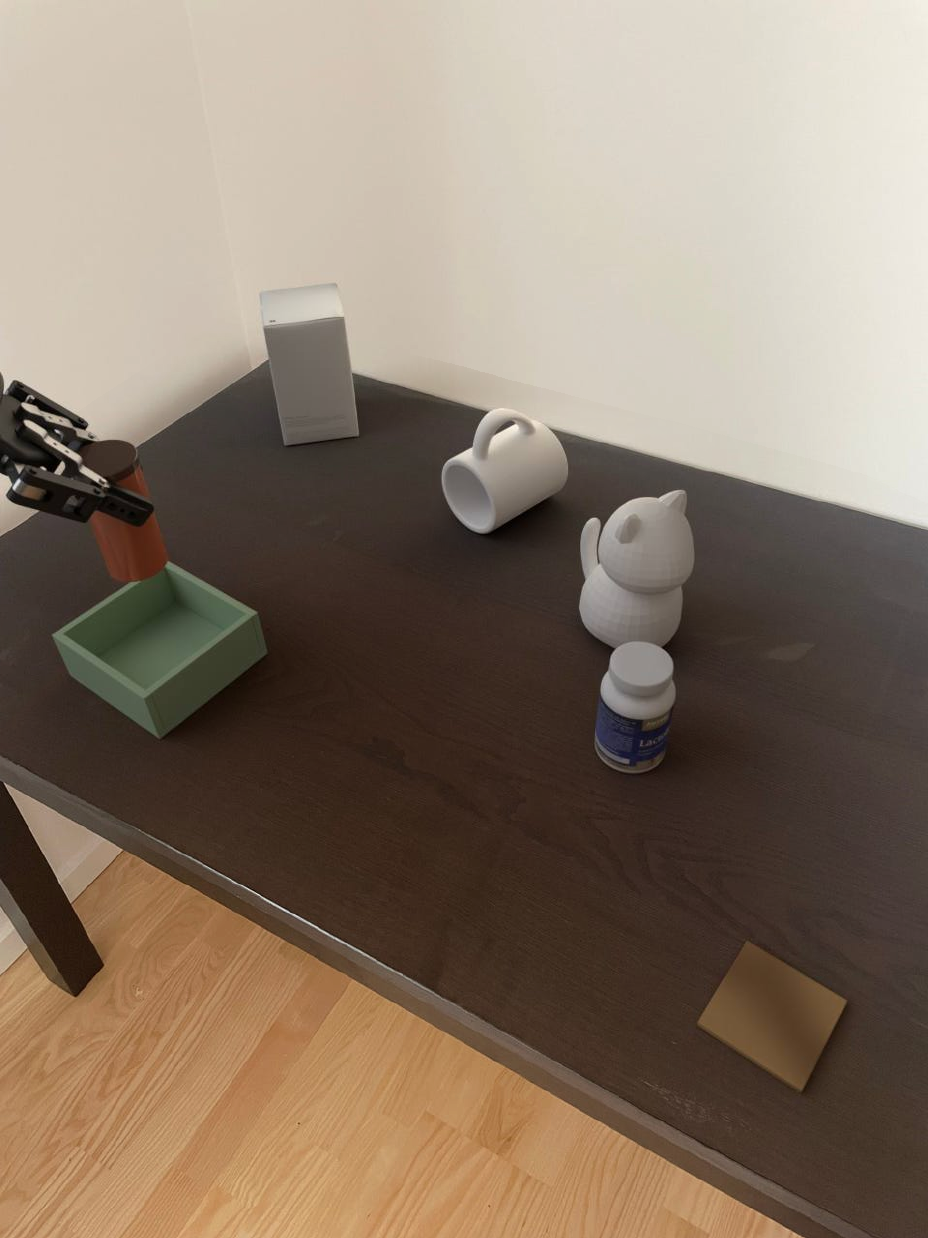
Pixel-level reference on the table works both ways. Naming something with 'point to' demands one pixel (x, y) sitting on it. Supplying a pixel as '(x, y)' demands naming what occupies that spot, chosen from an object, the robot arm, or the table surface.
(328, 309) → the rectangular carton
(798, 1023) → the coaster
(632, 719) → the pill bottle
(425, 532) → the table surface
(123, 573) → the spice jar
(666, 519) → the cat figurine
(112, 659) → the crate
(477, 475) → the mug
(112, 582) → the table surface
